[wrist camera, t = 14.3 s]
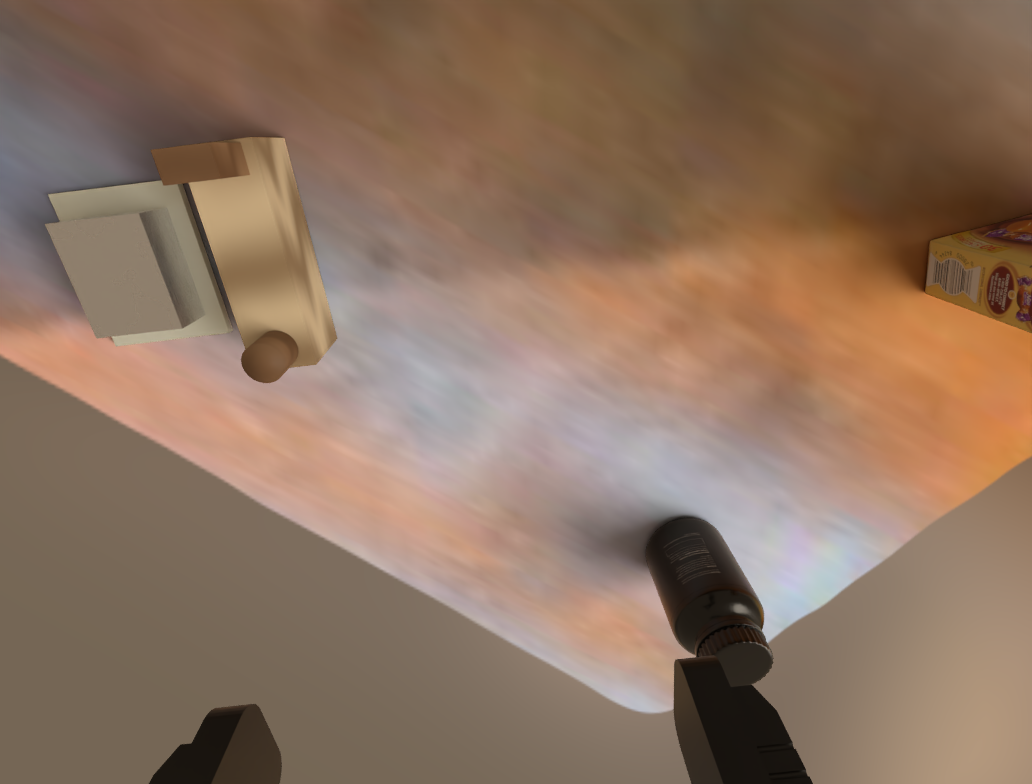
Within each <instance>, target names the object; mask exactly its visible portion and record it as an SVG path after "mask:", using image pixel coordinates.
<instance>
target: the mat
mask: <svg viewBox="0 0 1032 784" xmlns="http://www.w3.org/2000/svg"><path fill="white" fill-rule="evenodd" d="M48 196H49V198H50V201H51V203H52V205H53V207H54V209H55V212H56V214H57V216H58V218H59V221H65V220H70V219H76V218H82V217H90V216H99V215H108V214H116V213H125V212H134V211H142V210H151V209H159V208H167V209H168V212H169V214H170V217H171V220H172V223H173V226H174V228H175V231H176V234H177V237H178V239H179V242H180V245H181V248H182V251H183V253H184V256H185V259H186V262H187V265H188V267H189V270H190V273H191V276H192V279H193V281H194V284H195V287H196V290H197V293H198V295H199V298H200V301H201V304H202V307H203V309H204V312H205V316H203V317H201V318H200V319H198V320H196V321H195V322H193V323H191V324H190V325H188V326H186V327H184V328H183V329H175V330H166V331H157V332H149V333H140V334H131V335H122V336H113V337H112V339H113V341H114V343H115V345H116V346H123V345H132V344H140V343H148V342H157V341H165V340H174V339H182V338H190V337H199V336H207V335H215V334H224V333H230V332H231V331H233V328H232V325H231V322H230V319H229V316H228V313H227V310H226V308H225V305H224V302H223V299H222V296H221V293H220V290H219V287H218V285H217V282H216V279H215V276H214V273H213V270H212V267H211V264H210V261H209V259H208V256H207V253H206V250H205V247H204V244H203V241H202V238H201V236H200V233H199V230H198V227H197V224H196V221H195V218H194V215H193V212H192V210H191V207H190V204H189V201H188V198H187V195H186V192H185V189H184V187H183V184H175V185H167V186H163V183H162V180H161V181H153V182H145V183H136V184H128V185H120V186H112V187H104V188H96V189H88V190H80V191H72V192H64V193H56V194H48Z"/></svg>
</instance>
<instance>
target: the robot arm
mask: <svg viewBox="0 0 1032 784" xmlns="http://www.w3.org/2000/svg"><path fill="white" fill-rule="evenodd" d="M674 719H675V726H676V731H677V736H678V740H679V744H680V748H681V751H682V754H683V757H684V760H685V764H686V767H687V771H688V774H689V777H690V780H691V784H813V783H812V781H811V779H810V777H808V776H807V773H806V769H805V767H804V765H803V763H802V761H801V759H800V757H799V755H798V753H797V751H796V749H794V747H793V744H792V741H791V739H790V737H789V735H788V733H787V731H786V729H785V727H784V724H783V722H782V720H781V719H780V716H779V714H778V712H777V711H776V710H775V708H774V707H773V706H772V705H771V704H770V703H769V702H768V701H767V700H766V699H765V698H764V697H763V696H762V695H761V694H760V693H759V692H758V691H757V690H756V689H755V688H754V687H753V686H752V685H745V686H736V687H731V686H730V684H729V682H728V679H727V677H726V675H725V672H724V670H723V668H722V666H721V663H720V662H719V660H718V659H717V657H716V656H714V655H713V656H704V657H695V658H686V659H677V660H675V664H674ZM281 764H282V763H281V754H280V751H279V748H278V746H277V744H276V742H275V740H274V738H273V735H272V733H271V731H270V729H269V727H268V725H267V723H266V721H265V719H264V716H263V714H262V712H261V710H260V708H259V707H258V706H257V705H256V704H248V705H239V706H230V707H221V708H215V709H213V710H211V711H210V712H209V713H208V714H207V716H206V717H205V719H204V720H203V722H202V724H201V726H200V728H199V730H198V732H197V734H196V736H195V738H194V740H193V742H192V743H191V744H182V745H180V746H179V747H178V748H177V749H176V750H175V751H174V753H173V754H172V755H171V756H170V757H169V758H168V759H167V761H166V762H165V763H164V764H163V765H162V766H161V767H160V769H159V770H158V771H157V772H156V773H155V774H154V775H153V777H152V779H151V781H150V783H149V784H279V783H280V777H281V767H282V765H281Z"/></svg>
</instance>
